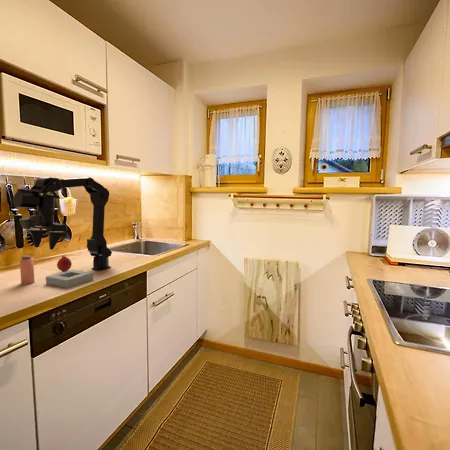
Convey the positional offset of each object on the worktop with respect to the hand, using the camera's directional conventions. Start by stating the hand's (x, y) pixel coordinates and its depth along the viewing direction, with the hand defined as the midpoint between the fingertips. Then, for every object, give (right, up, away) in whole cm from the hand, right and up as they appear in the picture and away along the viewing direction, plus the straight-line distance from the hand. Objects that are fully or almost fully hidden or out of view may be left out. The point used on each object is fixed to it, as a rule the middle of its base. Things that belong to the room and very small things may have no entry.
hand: (44, 248), depth 107 cm
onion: (-3, -13, +19) cm, 23 cm away
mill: (-8, -14, +2) cm, 17 cm away
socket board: (+8, -14, +5) cm, 17 cm away
